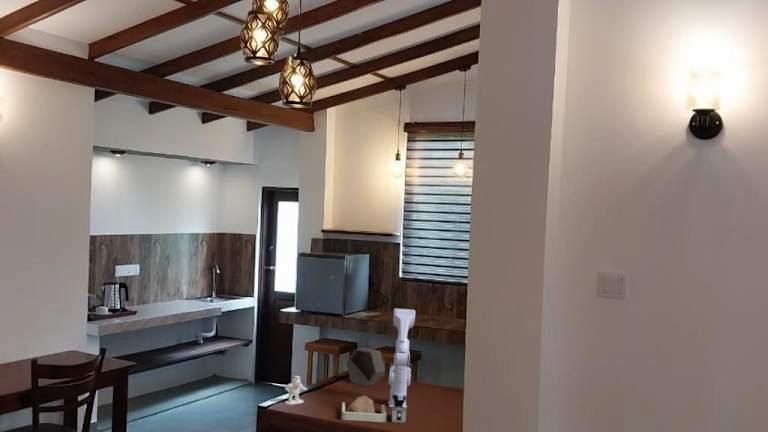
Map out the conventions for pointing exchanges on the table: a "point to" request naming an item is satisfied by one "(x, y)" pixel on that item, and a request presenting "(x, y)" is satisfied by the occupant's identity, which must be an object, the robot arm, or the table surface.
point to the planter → (365, 367)
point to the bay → (364, 415)
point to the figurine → (294, 391)
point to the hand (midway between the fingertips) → (397, 413)
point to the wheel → (398, 413)
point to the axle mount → (403, 414)
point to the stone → (362, 405)
